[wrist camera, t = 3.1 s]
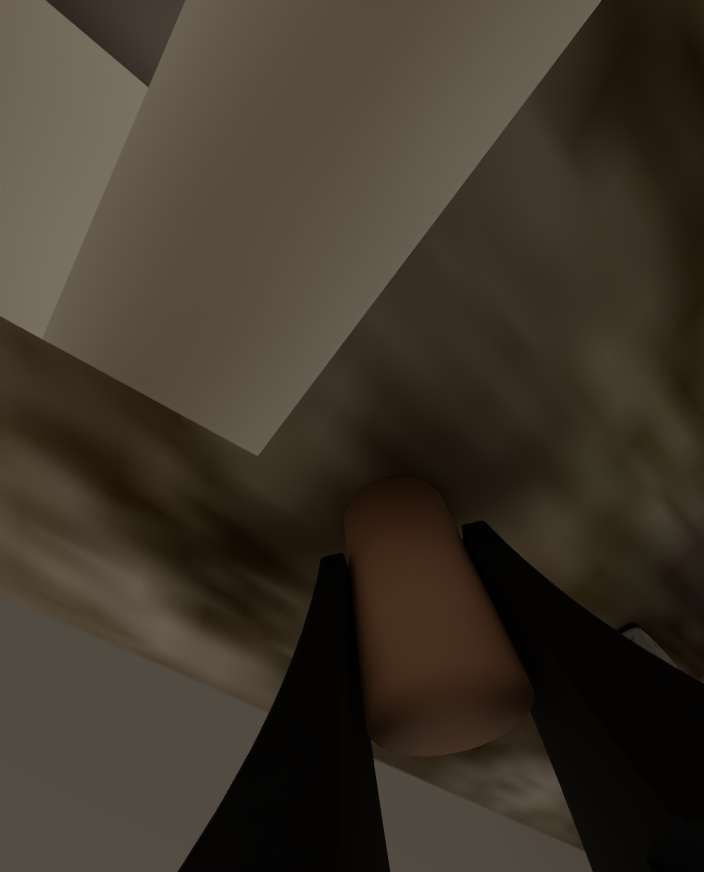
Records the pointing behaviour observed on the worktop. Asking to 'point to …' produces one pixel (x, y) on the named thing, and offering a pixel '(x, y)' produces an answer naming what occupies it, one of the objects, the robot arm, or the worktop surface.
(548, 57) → the socket block
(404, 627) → the peg
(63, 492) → the worktop surface
